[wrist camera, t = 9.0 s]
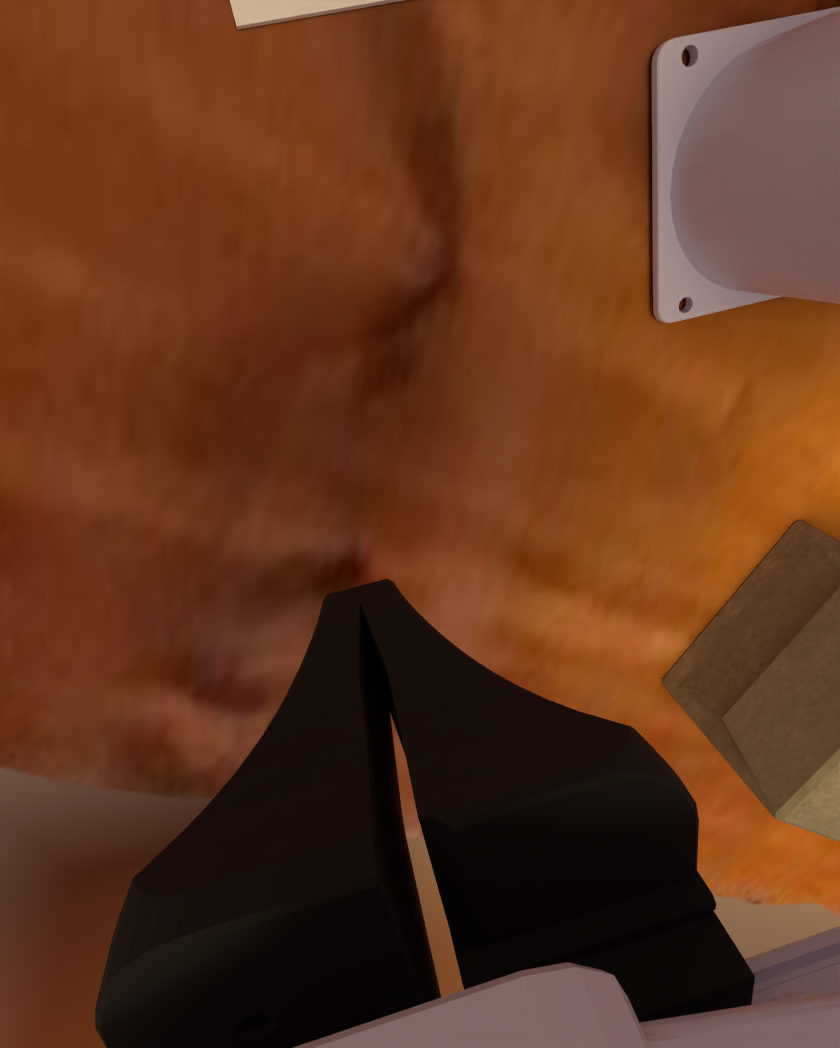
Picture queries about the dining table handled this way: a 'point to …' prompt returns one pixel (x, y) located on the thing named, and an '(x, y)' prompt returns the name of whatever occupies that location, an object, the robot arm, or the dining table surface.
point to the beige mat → (291, 9)
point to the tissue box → (776, 681)
